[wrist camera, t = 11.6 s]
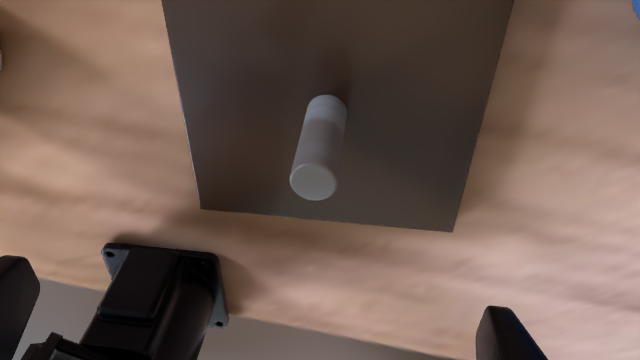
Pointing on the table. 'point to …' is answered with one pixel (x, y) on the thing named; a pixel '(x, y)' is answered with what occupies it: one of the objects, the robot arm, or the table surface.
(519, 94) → the table surface
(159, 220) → the table surface
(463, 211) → the table surface
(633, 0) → the tape roll
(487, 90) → the tape stand
